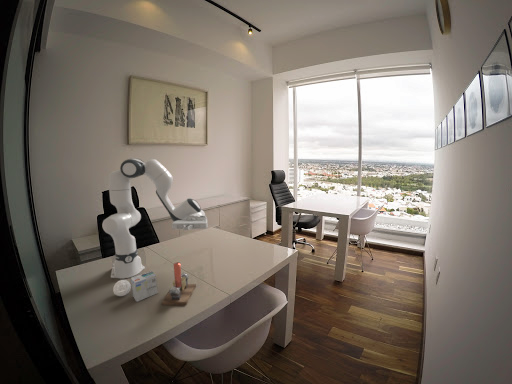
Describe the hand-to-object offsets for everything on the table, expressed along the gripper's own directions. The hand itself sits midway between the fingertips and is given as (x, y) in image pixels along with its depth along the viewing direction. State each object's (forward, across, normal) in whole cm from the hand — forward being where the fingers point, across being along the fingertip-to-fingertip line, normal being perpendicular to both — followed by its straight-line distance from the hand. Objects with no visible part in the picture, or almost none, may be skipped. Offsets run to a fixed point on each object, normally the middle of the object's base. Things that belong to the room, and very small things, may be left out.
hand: (185, 228), depth 126 cm
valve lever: (+17, +1, +23) cm, 28 cm away
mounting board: (+12, -1, +32) cm, 34 cm away
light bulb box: (+12, -19, +32) cm, 39 cm away
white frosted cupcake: (+12, -32, +32) cm, 47 cm away
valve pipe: (+12, -1, +30) cm, 33 cm away
